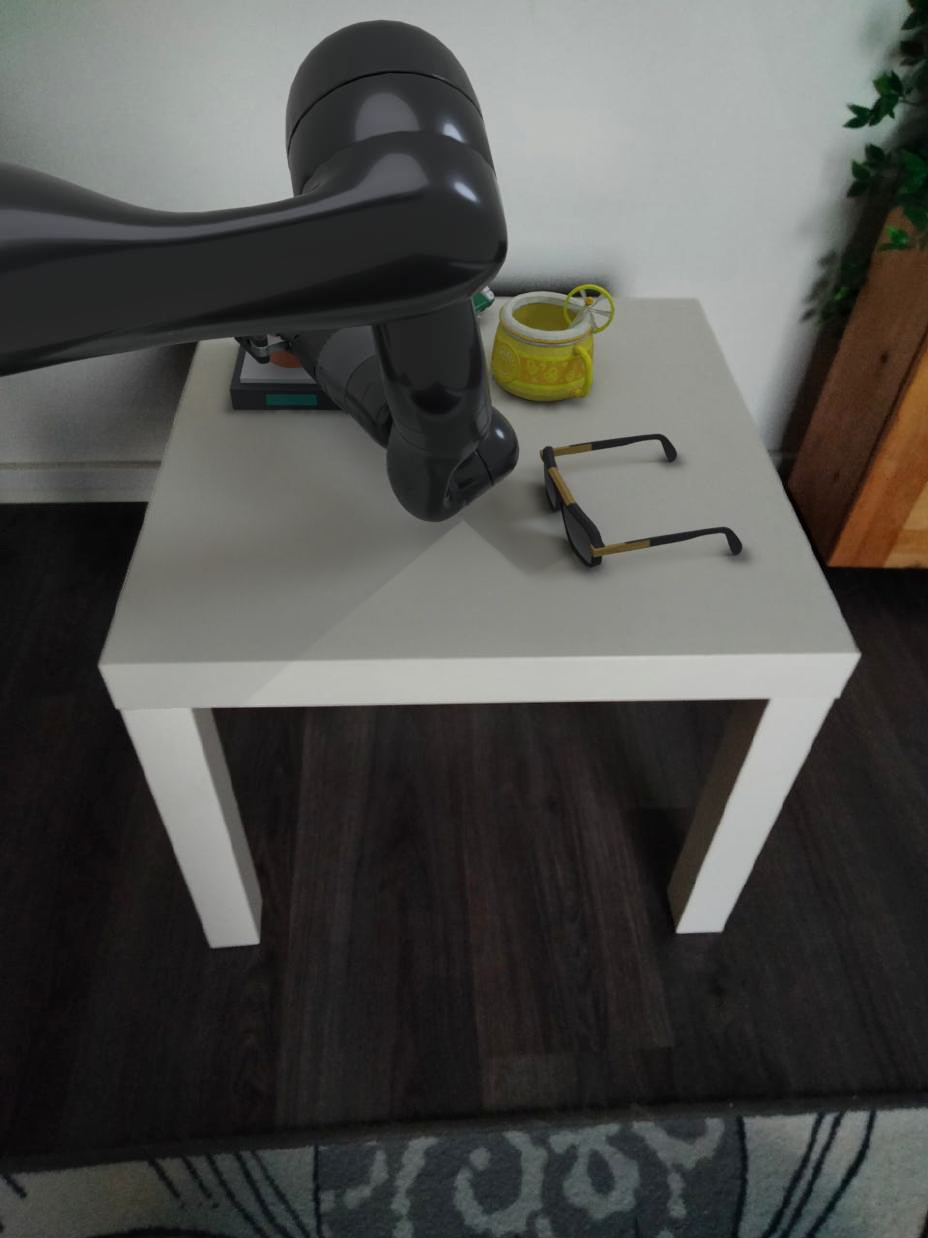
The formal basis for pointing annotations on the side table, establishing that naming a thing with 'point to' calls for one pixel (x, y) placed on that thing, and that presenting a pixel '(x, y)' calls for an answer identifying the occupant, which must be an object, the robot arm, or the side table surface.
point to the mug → (547, 344)
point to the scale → (275, 387)
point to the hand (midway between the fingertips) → (279, 287)
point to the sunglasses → (579, 524)
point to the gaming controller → (483, 300)
